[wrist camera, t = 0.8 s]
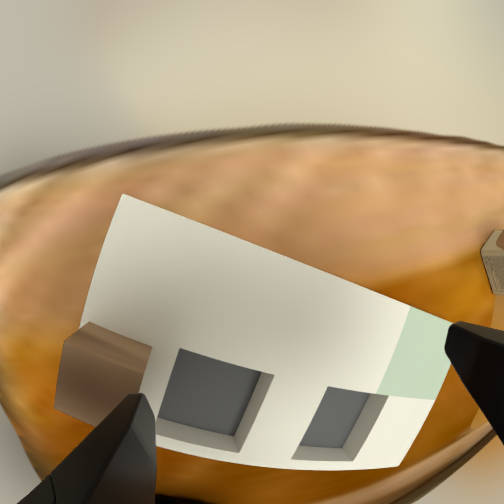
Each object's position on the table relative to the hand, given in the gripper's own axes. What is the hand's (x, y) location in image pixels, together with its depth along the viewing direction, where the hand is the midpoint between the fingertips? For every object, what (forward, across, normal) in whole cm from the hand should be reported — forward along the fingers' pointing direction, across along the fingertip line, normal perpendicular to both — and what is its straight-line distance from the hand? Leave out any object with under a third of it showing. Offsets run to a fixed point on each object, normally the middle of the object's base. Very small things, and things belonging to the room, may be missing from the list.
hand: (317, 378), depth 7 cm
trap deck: (+11, -2, +9) cm, 14 cm away
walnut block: (+8, +9, +4) cm, 13 cm away
